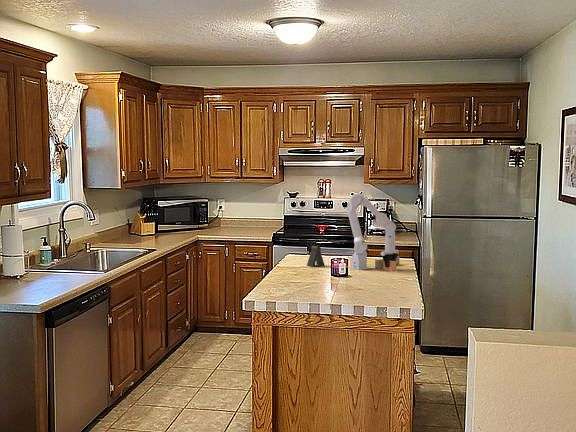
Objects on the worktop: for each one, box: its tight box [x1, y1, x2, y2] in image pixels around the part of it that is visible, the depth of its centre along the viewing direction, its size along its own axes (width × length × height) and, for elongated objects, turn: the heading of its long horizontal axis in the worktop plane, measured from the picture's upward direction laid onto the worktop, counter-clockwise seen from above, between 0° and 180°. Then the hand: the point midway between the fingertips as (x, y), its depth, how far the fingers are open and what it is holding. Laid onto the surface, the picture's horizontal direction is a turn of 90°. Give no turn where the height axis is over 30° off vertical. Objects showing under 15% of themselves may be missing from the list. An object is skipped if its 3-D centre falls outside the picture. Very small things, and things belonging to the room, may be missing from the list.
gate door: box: [378, 258, 384, 268], centre depth 371 cm, size 14×1×4 cm, turn 135°
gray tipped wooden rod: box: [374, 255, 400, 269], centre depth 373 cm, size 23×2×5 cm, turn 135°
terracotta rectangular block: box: [383, 261, 397, 272], centre depth 359 cm, size 4×6×5 cm, turn 45°
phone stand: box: [306, 245, 326, 268], centre depth 372 cm, size 9×6×12 cm, turn 120°
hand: (389, 266), depth 359 cm, fingers closed on terracotta rectangular block, 4 cm apart
